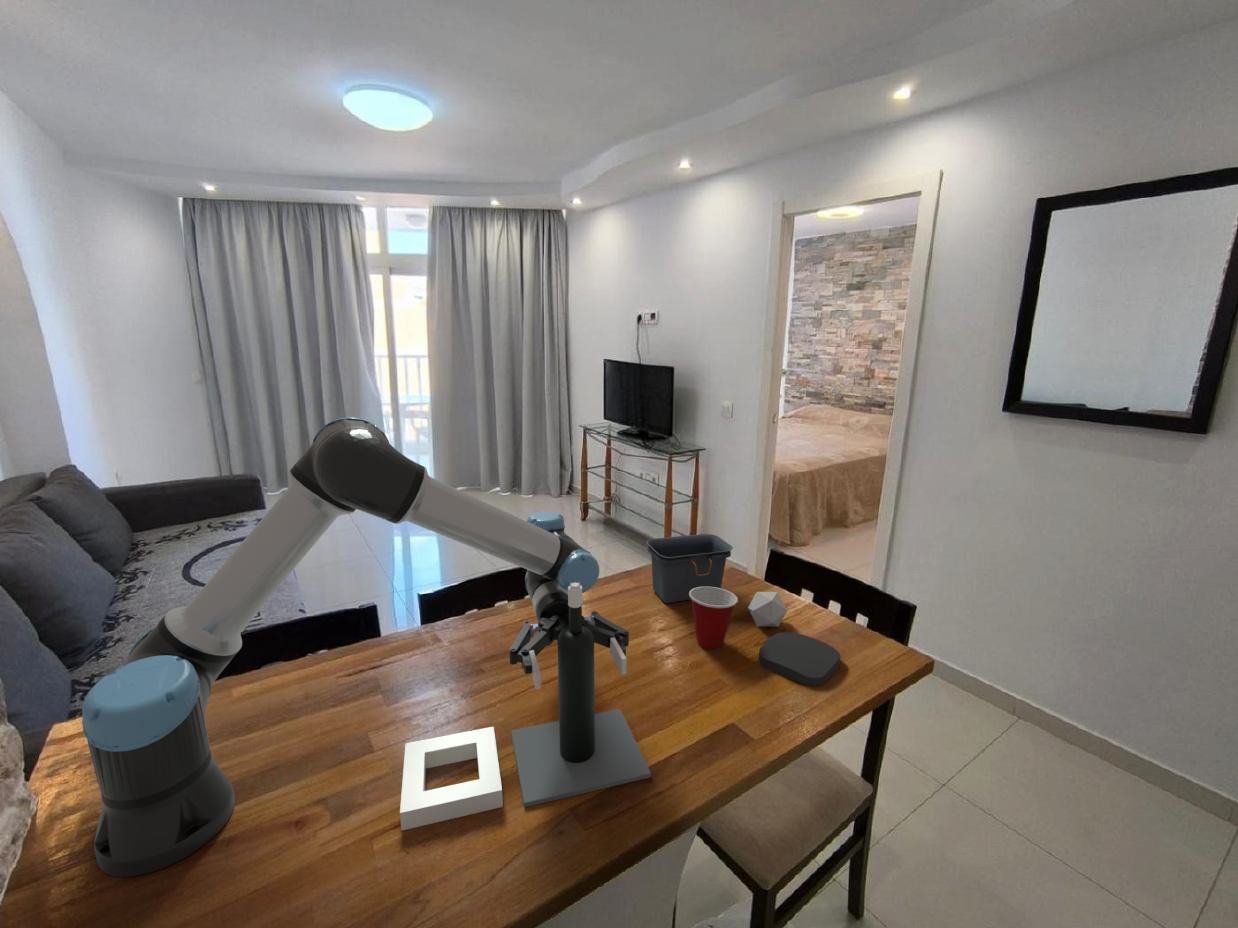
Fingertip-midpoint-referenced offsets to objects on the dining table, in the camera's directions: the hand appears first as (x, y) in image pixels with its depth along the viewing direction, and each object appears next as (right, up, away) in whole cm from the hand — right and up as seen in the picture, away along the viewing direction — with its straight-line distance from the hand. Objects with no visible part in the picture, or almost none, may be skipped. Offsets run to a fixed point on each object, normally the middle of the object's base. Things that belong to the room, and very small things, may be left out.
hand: (582, 673), depth 85 cm
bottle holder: (-20, -17, +1) cm, 27 cm away
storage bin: (+24, -3, +64) cm, 69 cm away
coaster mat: (-1, -16, +7) cm, 18 cm away
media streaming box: (+45, -11, +35) cm, 57 cm away
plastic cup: (+27, -9, +41) cm, 50 cm away
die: (+42, -7, +50) cm, 65 cm away
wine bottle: (-1, -15, +7) cm, 17 cm away
